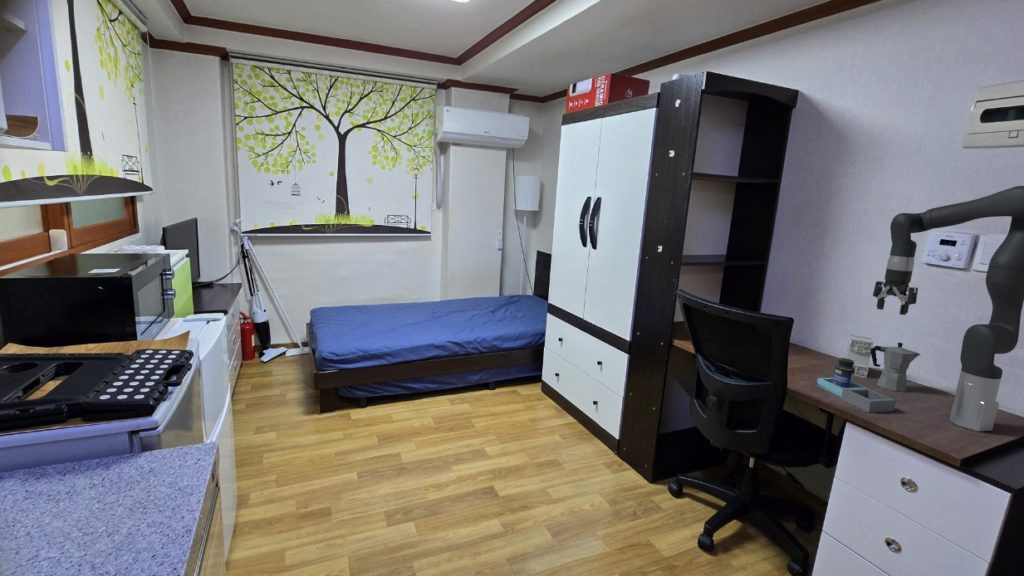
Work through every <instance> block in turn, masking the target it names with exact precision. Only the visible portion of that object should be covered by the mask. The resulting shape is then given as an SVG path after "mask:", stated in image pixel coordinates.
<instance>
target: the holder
mask: <svg viewBox="0 0 1024 576" xmlns="http://www.w3.org/2000/svg"><path fill="white" fill-rule="evenodd" d="M840 400H841V401H843V402H845V403H847V404H848V405H851V406H853V405H854V406H853V407H855V406H856V407H855V408H858V409H859V408H860V410H861V411H864V412H865V413H866V412H867V413H872V414H873V413H884V412H885V413H886V412H887V413H888V412H894V410H895V405H896V403H897V402H896V399H894V398H891V397H890V396H887V395H885V394H883V393H880V392H878V391H875V390H873V389H870V388H869V387H866V388H856V389H843V392H842V397H840Z"/></svg>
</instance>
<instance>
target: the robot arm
mask: <svg viewBox="0 0 1024 576" xmlns="http://www.w3.org/2000/svg"><path fill="white" fill-rule="evenodd" d="M995 217H998V218H999V217H1010V218H1011V220H1010V225H1009V230H1008V233H1007V235H1006V236H1005V238H1004V240H1003V241H1002V242H1001V244H1000V245H999V246H998V247H997V249H996V250H995V251H994V253H993V254H992V256H991V258H990V260H989V263H988V267H987V270H986V275H985V287H986V290H987V293H988V295H989V298H990V301H991V306H992V311H991V316H990V318H989V322H988V324H987V323H984V324H983V323H981V324H980V323H978V324H973V325H971V326H969V327H967V329H966V331H965V333H964V335H963V338H962V345H961V350H960V351H961V352H960V356H959V359H960V363H961V364H960V365H961V367H960V368H961V369H960V371H959V372H960V373H959V378H958V382H957V385H956V386H957V387H956V389H955V394H954V398H953V404H952V407H951V412H950V417H949V421H950V422H951V423H952V424H955V425H957V426H959V427H962V428H965V429H968V430H973V431H975V432H987V431H988V432H989V431H993V429H994V425H995V420H996V417H997V413H998V409H999V405H1000V402H999V401H997V397H998V393H999V389H1000V385H1001V381H1002V377H1003V374H1004V373H1003V371H1004V370H1003V369H1002V368H1001V367H1000V366H997V365H995V358H996V357H995V356H996V355H1005V354H1008V353H1010V352H1012V351H1013V350H1015V348H1016V347H1017V344H1018V342H1019V337H1020V327H1021V326H1020V325H1021V317H1022V312H1023V311H1022V310H1023V307H1024V185H1016V186H1013V187H1009V188H1006V189H1003V190H1000V191H997V192H994V193H992V194H989V195H986V196H983V197H980V198H976V199H973V200H968V201H963V202H958V203H952V204H946V205H941V206H937V207H932V208H930V209H927V210H926V211H923V212H918V213H917V212H916V213H911V212H909V213H908V212H901V213H898V214H896V215H895V216H894V217H893V218H892V219H891V222H890V227H889V229H890V240H891V248H890V253H889V257H888V259H887V264H886V268H885V275H884V281H880V280H878V281H876V282H875V284H874V289H873V293H872V296H873V297H875V298H876V299H877V303H876V310H884V307H885V303H886V298H887V297H889V296H893V297H897V298H898V300H899V301H900V303H901V304H900V307H899V315H901V316H906V315H907V314H908V312H909V307H910V305H916V303H917V298H918V290H919V288H918V287H917V286H916V287H913V286H911V287H910V283H911V282H912V275H913V271H914V266H915V257H916V252H917V242H916V241H914V240H913V239H912V234H919V233H922V232H923V233H924V232H927V231H931V230H933V229H942V228H947V227H952V226H958V225H961V224H965V223H969V222H971V221H974V220H977V219H978V220H979V219H984V218H995ZM883 288H884V289H883Z"/></svg>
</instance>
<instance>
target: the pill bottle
mask: <svg viewBox="0 0 1024 576" xmlns="http://www.w3.org/2000/svg"><path fill="white" fill-rule="evenodd" d="M853 365H854V361H853V360H850V359H846V357H841V358H840V357H839V359H838V363H837V364H836V365H835V366H834V370H833V377H832V378H833V381H832V384H834V385H837V386H839V387H841V388H852V383H853V382H854V377H855V376H854V373H855V368H854V367H853Z"/></svg>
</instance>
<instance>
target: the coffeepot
mask: <svg viewBox="0 0 1024 576" xmlns="http://www.w3.org/2000/svg"><path fill="white" fill-rule="evenodd" d="M903 345H904V343H903V342H897V346H881V345H874V346H873V347H872V348H871V350H870V353H871V357H870V358H871V360H872V361H871V362H872V366H874V367H876V368H877V367H878V368H880V367H881V365H882V364H878V358H877V351H878V352H883V366H884V368H883V370H882V372H881V374H880V377H879V379H878V381H877V383H876V384H877V386H878V387H880V388H881V389H885V390H888V391H890V392H898V393H904V392H906V391H907V371H908V369H909V367H910V364H911V363H912V362H913V361H914V360H915V359H916V358H918V357H919V356H921V353H919V352H916V351H914V350H910V349H907V348H903Z"/></svg>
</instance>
